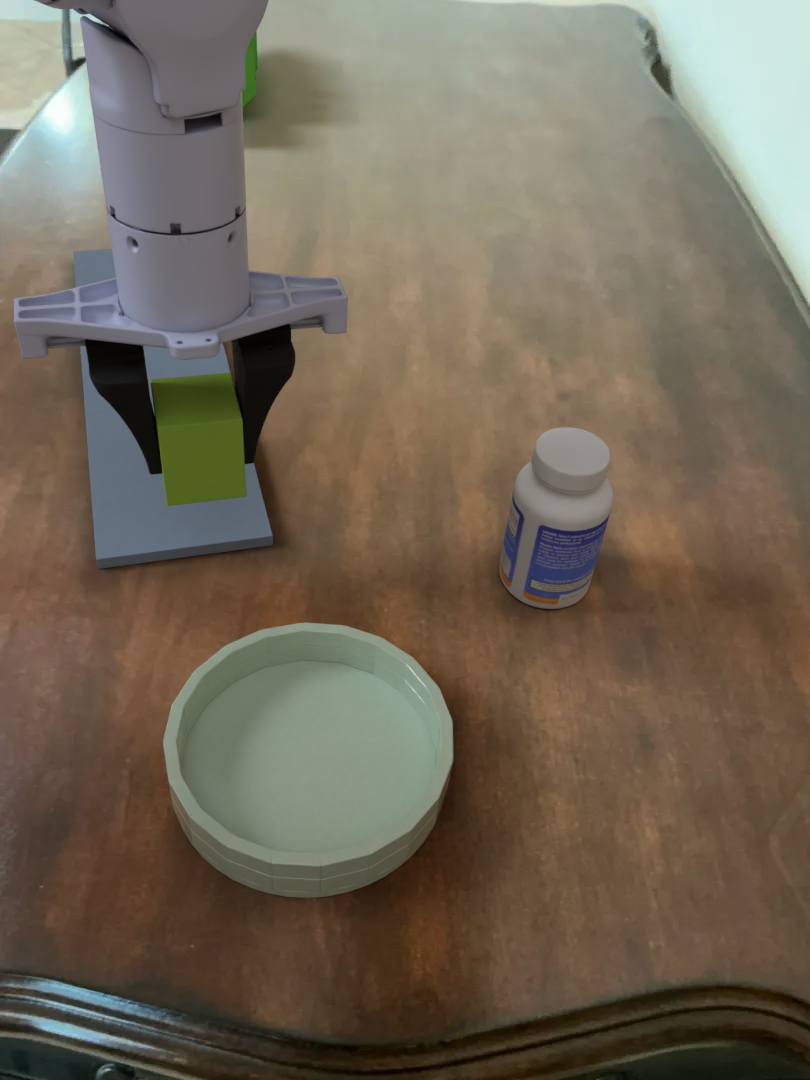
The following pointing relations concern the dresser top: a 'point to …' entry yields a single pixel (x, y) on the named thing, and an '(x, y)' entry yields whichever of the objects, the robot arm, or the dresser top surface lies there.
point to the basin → (308, 759)
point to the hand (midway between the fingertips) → (199, 456)
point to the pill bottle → (557, 519)
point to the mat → (137, 496)
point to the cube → (199, 438)
